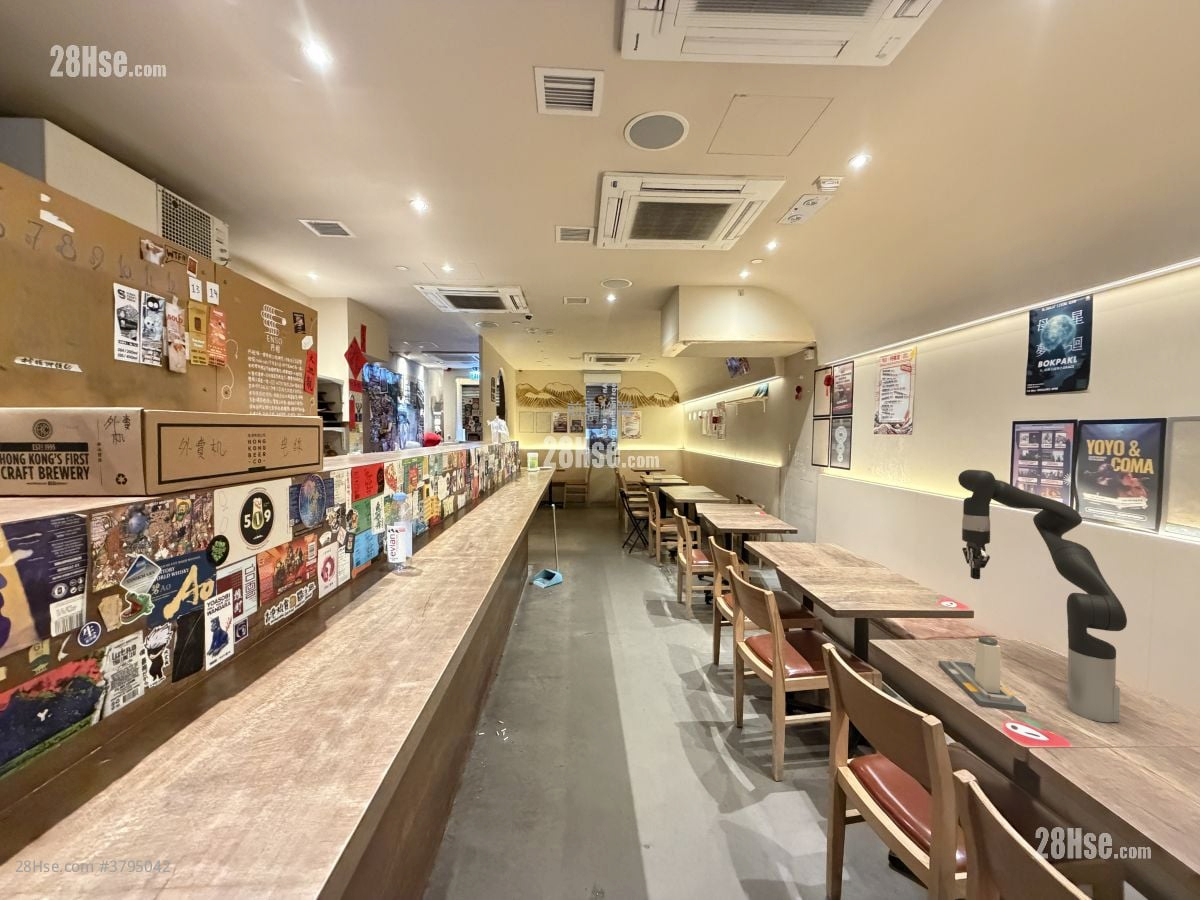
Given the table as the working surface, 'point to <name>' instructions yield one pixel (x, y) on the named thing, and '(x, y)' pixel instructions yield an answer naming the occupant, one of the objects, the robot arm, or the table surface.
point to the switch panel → (966, 680)
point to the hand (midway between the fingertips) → (975, 578)
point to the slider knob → (987, 664)
